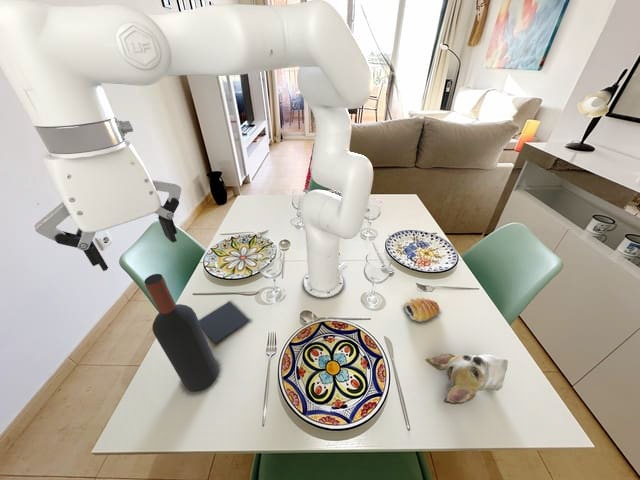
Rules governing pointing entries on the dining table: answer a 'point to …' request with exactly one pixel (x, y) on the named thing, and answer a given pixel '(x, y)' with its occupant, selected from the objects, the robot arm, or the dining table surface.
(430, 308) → the pastry
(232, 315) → the mat
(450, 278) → the dining table surface
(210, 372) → the wine bottle
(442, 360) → the ceramic sculpture
